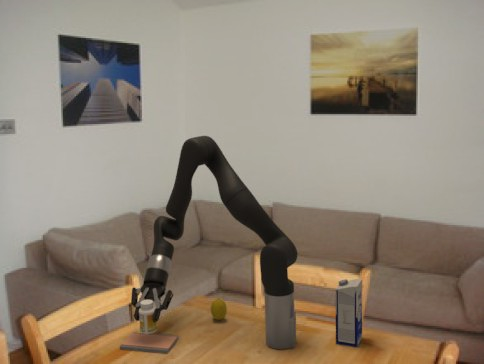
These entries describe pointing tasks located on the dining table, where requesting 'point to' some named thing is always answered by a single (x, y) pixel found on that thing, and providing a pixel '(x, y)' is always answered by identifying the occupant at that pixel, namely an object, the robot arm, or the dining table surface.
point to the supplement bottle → (147, 317)
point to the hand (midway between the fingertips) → (145, 320)
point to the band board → (149, 342)
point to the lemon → (218, 309)
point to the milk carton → (349, 312)
